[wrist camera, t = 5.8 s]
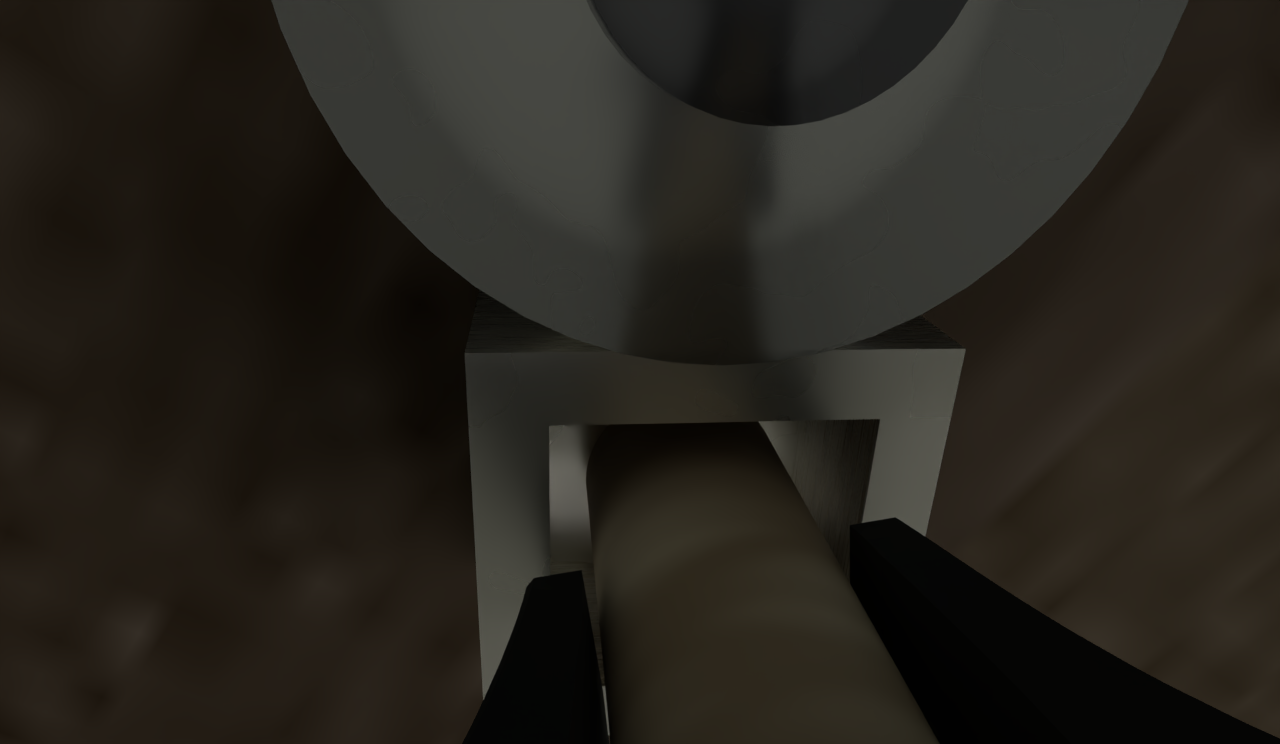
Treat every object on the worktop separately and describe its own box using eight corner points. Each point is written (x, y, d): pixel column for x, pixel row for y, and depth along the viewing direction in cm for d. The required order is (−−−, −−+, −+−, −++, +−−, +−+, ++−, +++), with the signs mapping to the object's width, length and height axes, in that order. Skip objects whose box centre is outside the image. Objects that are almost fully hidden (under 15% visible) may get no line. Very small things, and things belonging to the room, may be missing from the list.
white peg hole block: (291, -568, 9) (37, -1186, 4) (1093, -463, 10) (1541, -864, 6) (404, 581, 15) (347, 812, 11) (890, 560, 17) (1024, 759, 12)
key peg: (768, 375, 13) (1076, 841, 5) (778, 539, 14) (1037, 1092, 7) (571, 407, 12) (611, 932, 5) (600, 569, 14) (664, 1173, 6)
